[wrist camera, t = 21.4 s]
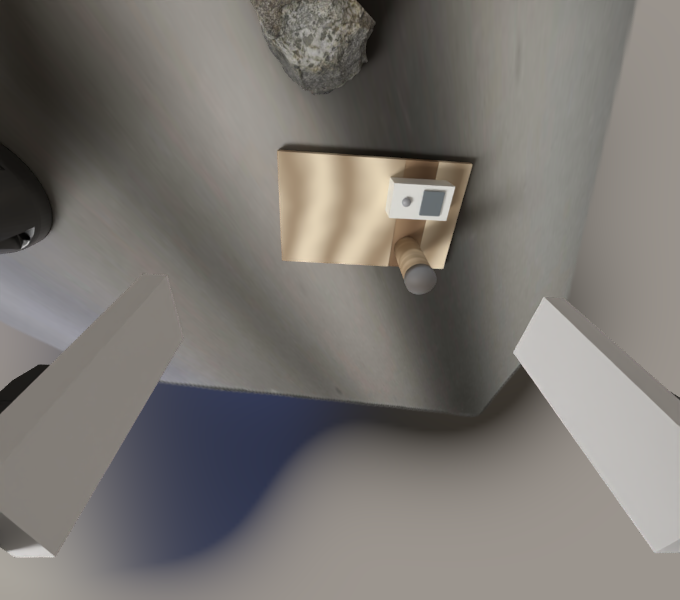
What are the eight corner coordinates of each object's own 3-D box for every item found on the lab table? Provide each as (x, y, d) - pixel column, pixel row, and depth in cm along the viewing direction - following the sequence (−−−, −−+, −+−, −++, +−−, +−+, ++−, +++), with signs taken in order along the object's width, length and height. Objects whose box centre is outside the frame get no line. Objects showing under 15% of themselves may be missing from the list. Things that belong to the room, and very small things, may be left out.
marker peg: (395, 235, 41) (408, 266, 34) (420, 237, 41) (439, 268, 34) (391, 259, 43) (403, 293, 36) (415, 260, 43) (432, 294, 36)
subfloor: (283, 256, 44) (282, 260, 43) (278, 149, 36) (277, 151, 35) (440, 265, 45) (443, 269, 44) (469, 162, 37) (472, 164, 36)
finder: (385, 210, 39) (389, 218, 36) (390, 177, 37) (394, 183, 34) (438, 212, 40) (447, 221, 37) (446, 180, 37) (456, 187, 35)
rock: (383, 37, 31) (392, 26, 25) (329, 114, 34) (327, 119, 29) (270, -97, 26) (251, -145, 20) (221, 10, 30) (194, -7, 24)
